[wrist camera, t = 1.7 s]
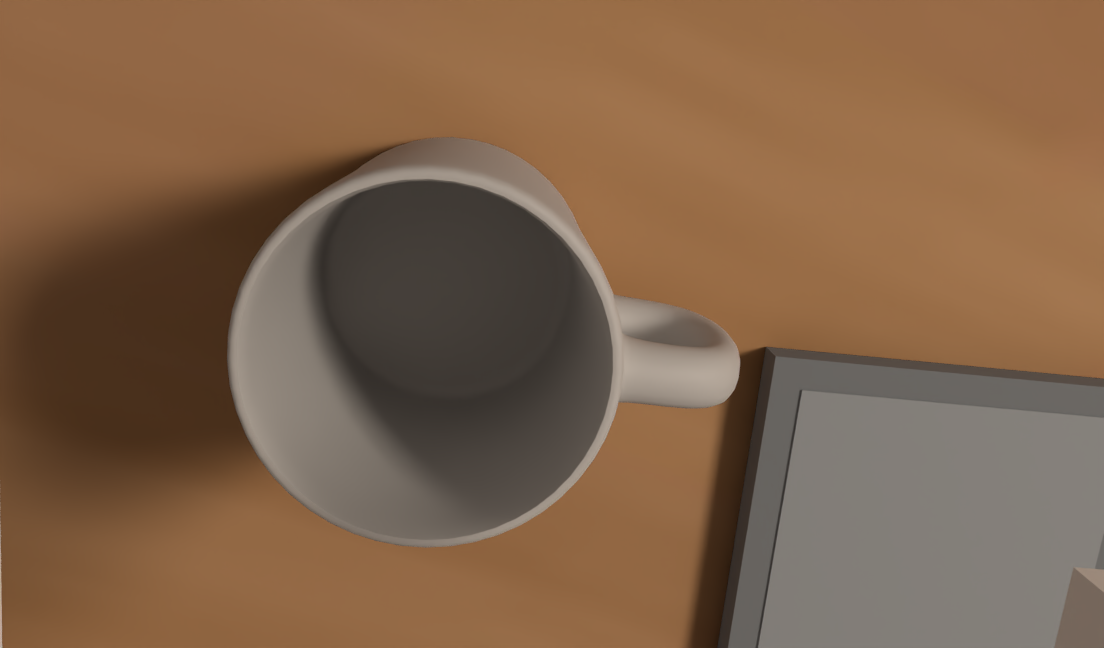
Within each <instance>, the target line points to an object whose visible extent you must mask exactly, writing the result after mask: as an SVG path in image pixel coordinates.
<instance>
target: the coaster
mask: <svg viewBox="0 0 1104 648" xmlns="http://www.w3.org/2000/svg"><path fill="white" fill-rule="evenodd" d="M1073 567H1077V568H1090V569H1102V570H1104V379H1101V378H1090V377H1080V376H1069V375H1058V374H1048V373H1037V372H1027V371H1016V370H1005V369H995V368H984V367H974V366H963V365H953V364H942V363H931V362H921V361H910V360H900V359H889V358H878V357H868V356H857V355H847V354H836V353H826V352H815V351H804V350H794V349H783V348H773V347H766V349H765V356H764V362H763V368H762V374H761V380H760V387H759V393H758V399H757V405H756V411H755V418H754V424H753V430H752V436H751V442H750V449H749V455H748V461H747V467H746V473H745V480H744V486H743V492H742V498H741V504H740V510H739V517H738V523H737V529H736V535H735V541H734V548H733V554H732V560H731V566H730V572H729V579H728V585H727V591H726V597H725V603H724V610H723V616H722V622H721V628H720V634H719V641H718V647H717V648H1054V647H1055V642H1056V638H1057V634H1058V630H1059V626H1060V621H1061V617H1062V613H1063V609H1064V605H1065V600H1066V596H1067V592H1068V588H1069V584H1070V579H1071V575H1072V571H1073Z"/></svg>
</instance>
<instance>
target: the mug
mask: <svg viewBox="0 0 1104 648" xmlns="http://www.w3.org/2000/svg"><path fill="white" fill-rule="evenodd" d="M227 364H228V374H229V383H230V388H231V392H232V396H233V400H234V404H235V408H236V412H237V414H238V417H239V419H240V422H241V424H242V427H243V429H244V432H245V434H246V436H247V438H248V440H249V442H250V443H251V445H252V447H253V449H254V451H255V452H256V454H257V456H258V457H259V459H260V460H261V461H262V463H263V464H264V465H265V467H266V468H267V470H268V471H269V472H270V474H271V475H272V476H273V477H274V478H275V479H276V480H277V481H278V482H279V484H280V485H281V486H282V487H283V488H284V489H285V490H286V491H287V492H288V493H289V494H290V495H291V496H293V497H294V498H295V499H296V500H298V501H299V502H300V503H301V504H303V505H304V506H305V507H306V508H308V509H309V510H310V511H312V512H314V513H315V514H317V515H318V516H320V517H322V518H323V519H325V520H327V521H328V522H330V523H332V524H334V525H336V526H338V527H340V528H342V529H345V530H347V531H349V532H351V533H353V534H357V535H360V536H363V537H366V538H369V539H372V540H375V541H380V542H385V543H390V544H395V545H400V546H413V547H444V546H454V545H460V544H466V543H472V542H476V541H480V540H483V539H486V538H490V537H493V536H496V535H499V534H501V533H504V532H506V531H508V530H511V529H513V528H515V527H517V526H520V525H522V524H523V523H525V522H527V521H528V520H530V519H532V518H533V517H535V516H537V515H538V514H540V513H542V512H543V511H544V510H546V509H547V508H548V507H549V506H551V505H552V504H553V503H554V502H556V501H557V500H558V499H560V498H561V497H562V496H563V495H564V494H565V493H566V492H567V491H568V490H569V489H570V488H571V487H572V486H573V485H574V484H575V483H576V482H577V481H578V480H579V478H580V477H581V476H582V474H583V473H584V472H585V470H586V469H587V468H588V466H589V465H590V464H591V463H592V461H593V460H594V458H595V456H596V455H597V453H598V451H599V449H600V448H601V446H602V444H603V442H604V441H605V439H606V436H607V434H608V432H609V429H610V427H611V424H612V422H613V419H614V417H615V413H616V409H617V405H618V402H629V403H640V404H648V405H657V406H666V407H677V408H708V407H711V406H715V405H718V404H721V403H723V402H725V401H726V400H727V399H728V398H729V396H730V395H731V394H732V392H733V391H734V390H735V387H736V384H737V381H738V378H739V370H740V357H739V352H738V349H737V346H736V344H735V343H734V342H733V340H732V339H731V338H730V336H729V335H728V334H727V332H726V331H724V330H723V329H722V328H721V327H720V326H719V325H717V324H716V323H714V322H713V321H711V320H709V319H708V318H706V317H704V316H702V315H700V314H697V313H695V312H693V311H690V310H687V309H684V308H680V307H677V306H673V305H669V304H664V303H659V302H654V301H648V300H643V299H636V298H630V297H624V296H618V295H613V292H612V290H611V287H610V285H609V283H608V281H607V278H606V276H605V274H604V272H603V269H602V267H601V265H600V263H599V262H598V260H597V258H596V257H595V255H594V253H593V251H592V250H591V248H590V246H589V245H588V243H587V241H586V239H585V238H584V236H583V234H582V232H581V231H580V229H579V227H578V224H577V222H576V220H575V218H574V215H573V213H572V212H571V210H570V208H569V207H568V205H567V203H566V202H565V200H564V199H563V197H562V196H561V194H560V193H559V192H558V191H557V189H556V188H555V187H554V186H553V185H552V183H551V182H550V181H549V180H548V179H547V178H546V177H544V176H543V175H542V174H541V173H540V172H539V171H538V170H537V169H536V168H534V167H533V166H531V165H530V164H529V163H527V162H526V161H525V160H523V159H521V158H520V157H518V156H516V155H514V154H512V153H510V152H509V151H507V150H504V149H502V148H499V147H497V146H494V145H491V144H489V143H484V142H480V141H476V140H472V139H464V138H454V137H444V138H429V139H423V140H417V141H413V142H409V143H406V144H403V145H400V146H396V147H394V148H392V149H390V150H388V151H386V152H383V153H381V154H379V155H378V156H376V157H375V158H373V159H371V160H370V161H368V162H367V163H365V164H363V165H362V166H361V167H360V168H358V169H357V170H355V171H354V172H352V173H350V174H349V175H347V176H345V177H343V178H342V179H340V180H338V181H336V182H335V183H333V184H331V185H330V186H328V187H327V188H325V189H323V190H322V191H320V192H319V193H317V194H315V195H314V196H312V197H311V198H309V199H308V200H306V201H305V202H304V203H303V204H301V205H300V206H299V207H298V208H297V209H296V210H294V211H293V212H292V213H291V214H290V215H288V216H287V217H286V218H285V219H284V220H283V221H282V222H281V223H280V225H279V226H278V227H277V228H276V229H275V230H274V231H273V232H272V234H271V235H270V236H269V237H268V238H267V239H266V241H265V242H264V244H263V245H262V247H261V248H260V250H259V251H258V253H257V254H256V256H255V257H254V259H253V260H252V262H251V264H250V266H249V268H248V270H247V272H246V274H245V276H244V278H243V280H242V282H241V285H240V287H239V290H238V293H237V296H236V300H235V303H234V306H233V309H232V314H231V320H230V326H229V332H228V349H227Z"/></svg>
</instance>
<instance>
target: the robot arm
mask: <svg viewBox="0 0 1104 648" xmlns="http://www.w3.org/2000/svg"><path fill="white" fill-rule="evenodd" d="M0 648H2V608H1V530H0ZM1054 648H1104V570H1102V569H1090V568H1077V567H1073V571H1072V575H1071V579H1070V584H1069V588H1068V592H1067V596H1066V600H1065V605H1064V609H1063V613H1062V617H1061V621H1060V626H1059V630H1058V634H1057V638H1056V642H1055V647H1054Z"/></svg>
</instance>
